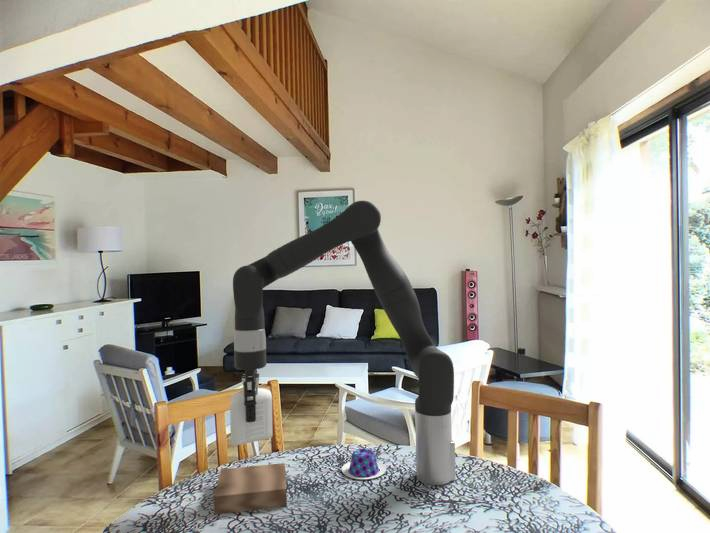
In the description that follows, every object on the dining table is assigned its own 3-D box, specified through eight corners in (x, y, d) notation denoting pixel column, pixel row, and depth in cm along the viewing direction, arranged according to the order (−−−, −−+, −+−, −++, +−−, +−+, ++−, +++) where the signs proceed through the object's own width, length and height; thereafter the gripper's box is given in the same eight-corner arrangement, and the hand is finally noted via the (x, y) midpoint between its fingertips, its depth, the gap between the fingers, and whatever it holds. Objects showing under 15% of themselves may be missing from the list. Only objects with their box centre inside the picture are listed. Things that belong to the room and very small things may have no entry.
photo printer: (269, 433, 113) (267, 384, 113) (275, 438, 109) (274, 387, 109) (228, 442, 107) (227, 390, 107) (233, 448, 103) (232, 394, 104)
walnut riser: (284, 478, 116) (284, 463, 116) (286, 506, 103) (286, 488, 103) (221, 485, 113) (220, 469, 113) (214, 514, 100) (214, 496, 100)
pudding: (349, 459, 128) (349, 441, 128) (390, 464, 124) (390, 445, 124) (335, 478, 116) (334, 458, 116) (379, 484, 113) (379, 464, 113)
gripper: (265, 352, 102) (267, 426, 102) (266, 342, 116) (267, 407, 116) (231, 354, 101) (233, 429, 100) (236, 343, 115) (237, 409, 115)
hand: (251, 417), depth 108 cm, fingers closed on photo printer, 5 cm apart
